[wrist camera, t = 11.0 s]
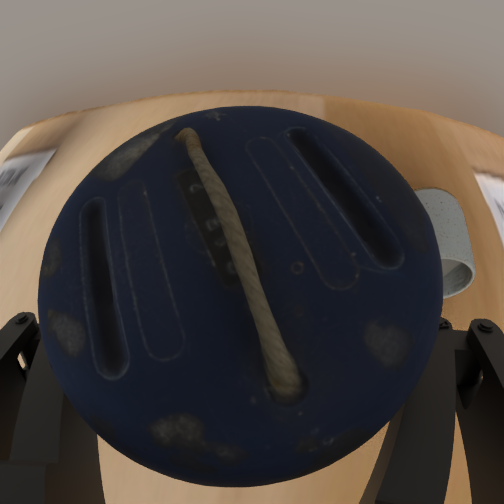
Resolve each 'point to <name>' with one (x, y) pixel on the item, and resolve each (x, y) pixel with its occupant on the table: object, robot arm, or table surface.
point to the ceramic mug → (449, 238)
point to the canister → (240, 296)
